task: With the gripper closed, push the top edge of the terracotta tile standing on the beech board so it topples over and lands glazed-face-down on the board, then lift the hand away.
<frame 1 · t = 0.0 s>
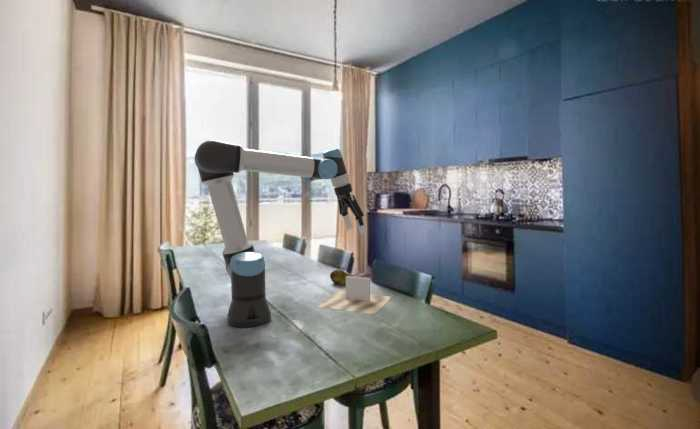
hand: (356, 230, 158), 28 cm above the table, tool tilted 20°, fingers open, 13 cm apart
board: (355, 305, 143), on the table
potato: (343, 287, 169), on the table
tile: (357, 299, 146), point 1 cm above the table, touching board
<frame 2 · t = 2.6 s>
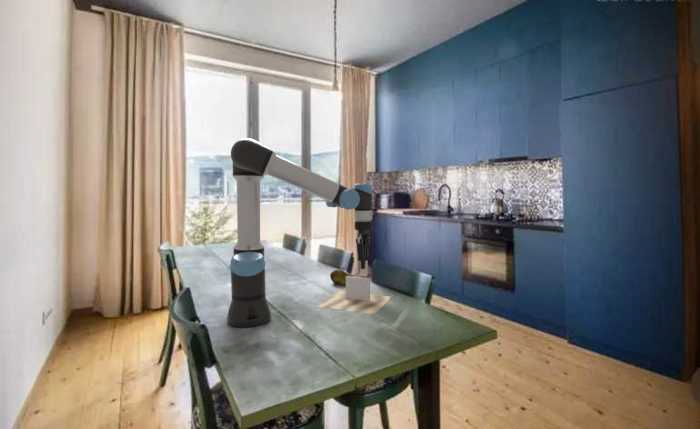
hand: (363, 275, 152), 10 cm above the table, tool pointing down, fingers closed
nothing on the table moved.
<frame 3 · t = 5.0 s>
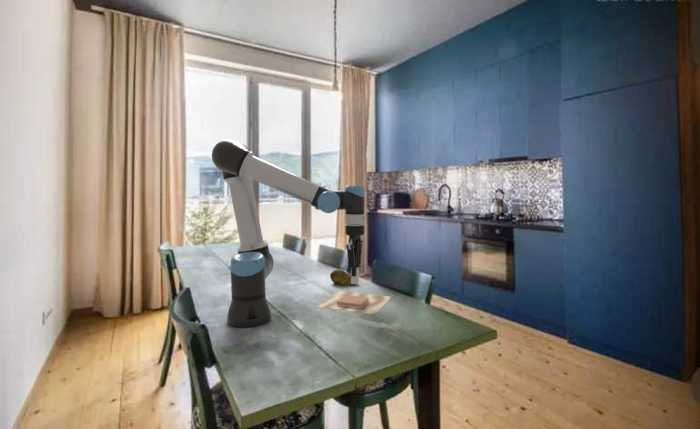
hand: (354, 283, 143), 9 cm above the table, tool pointing down, fingers closed
tile: (357, 297, 145), point 2 cm above the table, tilted 90°, touching board
everything else where it was.
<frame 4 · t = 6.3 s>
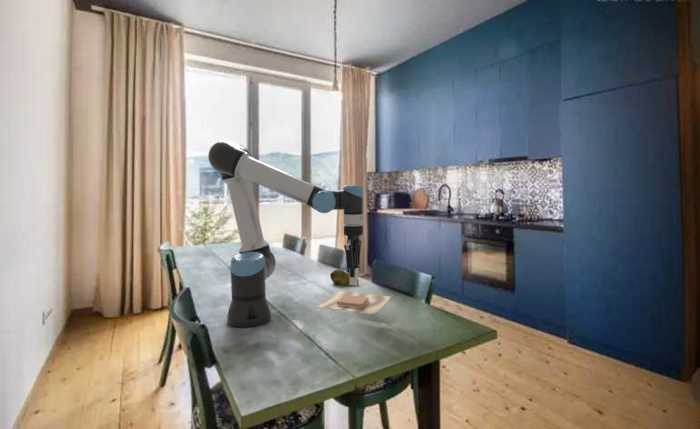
hand: (353, 284, 141), 9 cm above the table, tool pointing down, fingers closed
nothing on the table moved.
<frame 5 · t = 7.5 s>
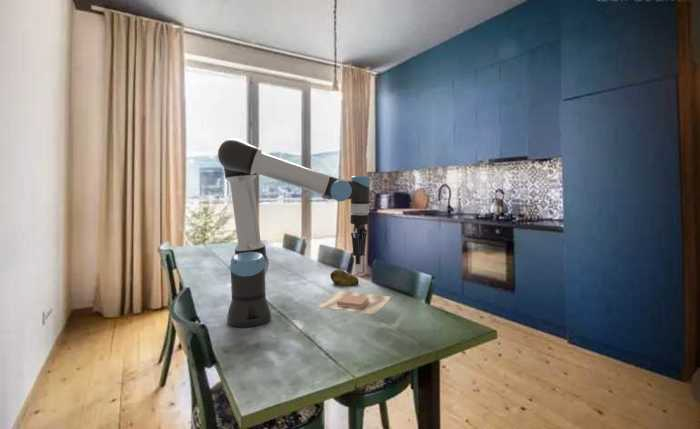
hand: (358, 271, 147), 13 cm above the table, tool pointing down, fingers closed
nothing on the table moved.
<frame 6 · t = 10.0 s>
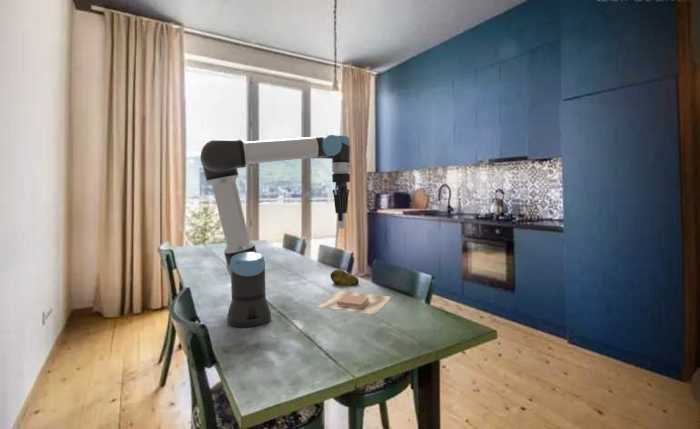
hand: (341, 228, 154), 29 cm above the table, tool pointing down, fingers closed
nothing on the table moved.
at the end: tile tilted 90°; tile point 2.3 cm above the table; tile inside the target area on the board (2.0 cm from its centre), point 2.3 cm above the board's base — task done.
